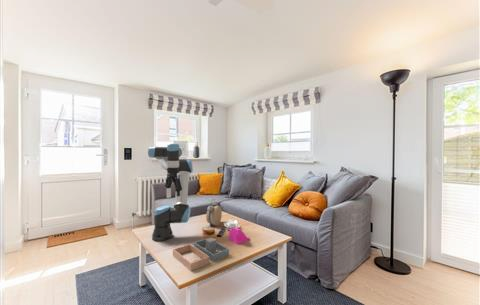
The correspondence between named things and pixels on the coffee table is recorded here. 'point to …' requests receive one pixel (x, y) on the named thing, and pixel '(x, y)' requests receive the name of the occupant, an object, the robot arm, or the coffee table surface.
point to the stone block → (211, 245)
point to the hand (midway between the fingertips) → (173, 199)
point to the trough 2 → (212, 257)
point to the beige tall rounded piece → (214, 214)
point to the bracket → (237, 236)
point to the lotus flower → (231, 224)
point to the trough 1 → (203, 256)
